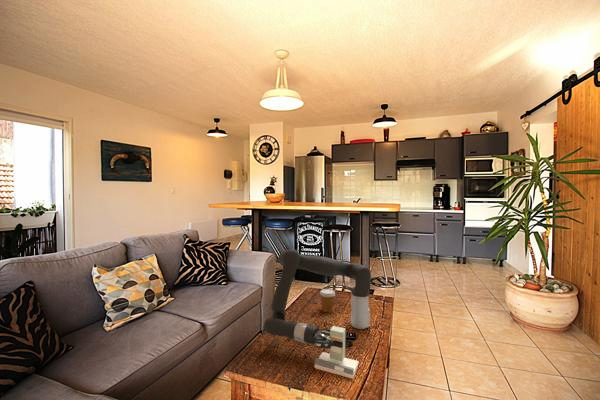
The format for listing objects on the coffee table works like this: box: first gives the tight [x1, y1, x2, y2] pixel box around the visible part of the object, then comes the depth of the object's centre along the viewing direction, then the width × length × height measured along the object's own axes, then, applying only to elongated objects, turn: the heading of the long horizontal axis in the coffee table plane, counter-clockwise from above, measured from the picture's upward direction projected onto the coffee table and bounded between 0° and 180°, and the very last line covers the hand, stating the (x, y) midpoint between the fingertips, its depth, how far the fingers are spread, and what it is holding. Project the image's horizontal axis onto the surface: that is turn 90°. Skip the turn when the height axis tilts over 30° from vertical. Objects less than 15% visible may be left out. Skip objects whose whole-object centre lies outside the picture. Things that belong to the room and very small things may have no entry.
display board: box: [314, 351, 359, 380], centre depth 116 cm, size 10×16×4 cm, turn 66°
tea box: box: [329, 325, 346, 362], centre depth 116 cm, size 4×6×12 cm
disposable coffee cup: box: [319, 288, 336, 313], centre depth 172 cm, size 10×10×12 cm
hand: (343, 342), depth 115 cm, fingers closed on tea box, 4 cm apart
